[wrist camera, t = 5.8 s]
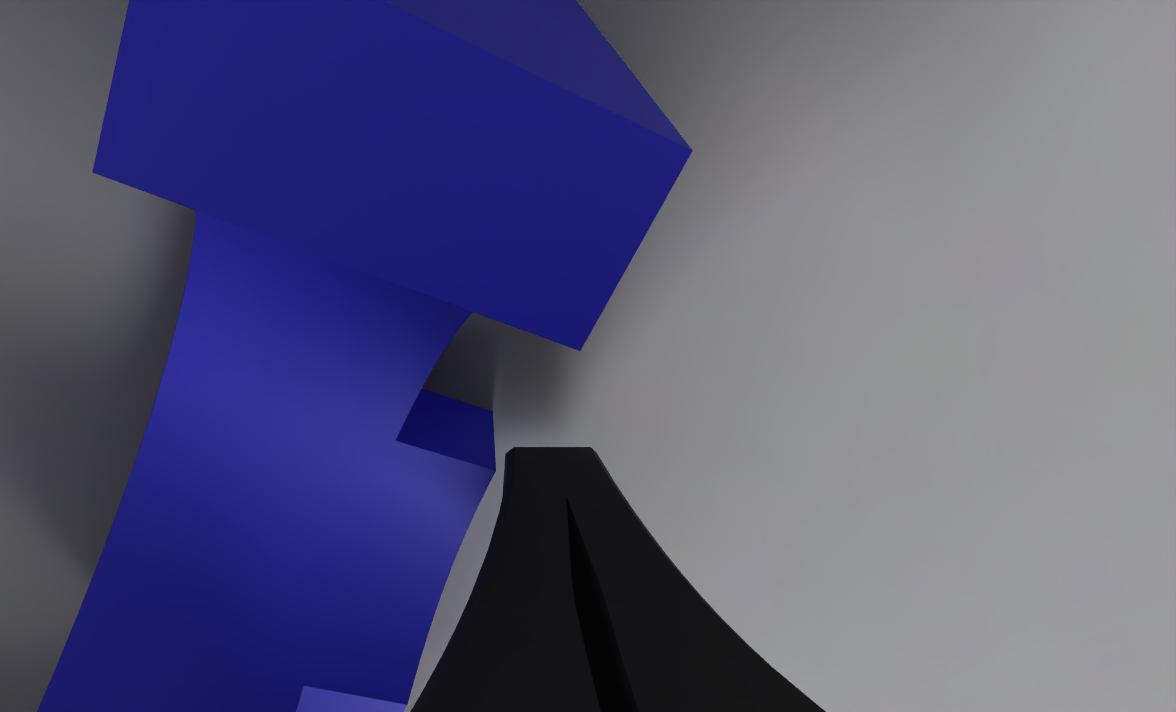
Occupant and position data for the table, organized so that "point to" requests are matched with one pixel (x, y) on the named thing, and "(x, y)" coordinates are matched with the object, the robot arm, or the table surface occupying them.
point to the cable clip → (341, 323)
